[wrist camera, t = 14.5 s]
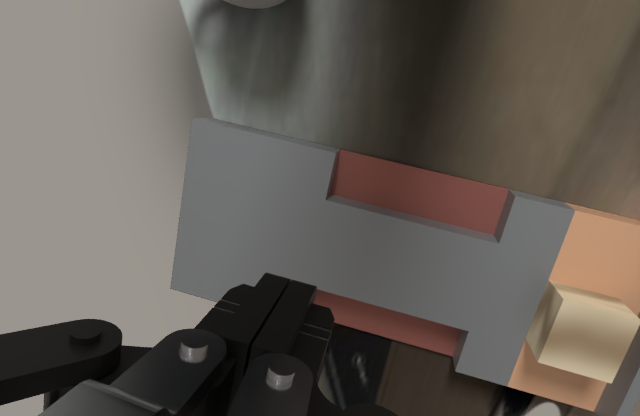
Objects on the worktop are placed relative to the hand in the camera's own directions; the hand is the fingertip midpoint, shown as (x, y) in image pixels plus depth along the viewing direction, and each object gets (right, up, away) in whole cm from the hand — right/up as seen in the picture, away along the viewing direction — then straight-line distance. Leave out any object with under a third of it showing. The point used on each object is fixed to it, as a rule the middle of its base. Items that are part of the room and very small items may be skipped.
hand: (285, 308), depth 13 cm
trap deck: (+9, -2, +32) cm, 34 cm away
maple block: (+23, -7, +28) cm, 37 cm away
